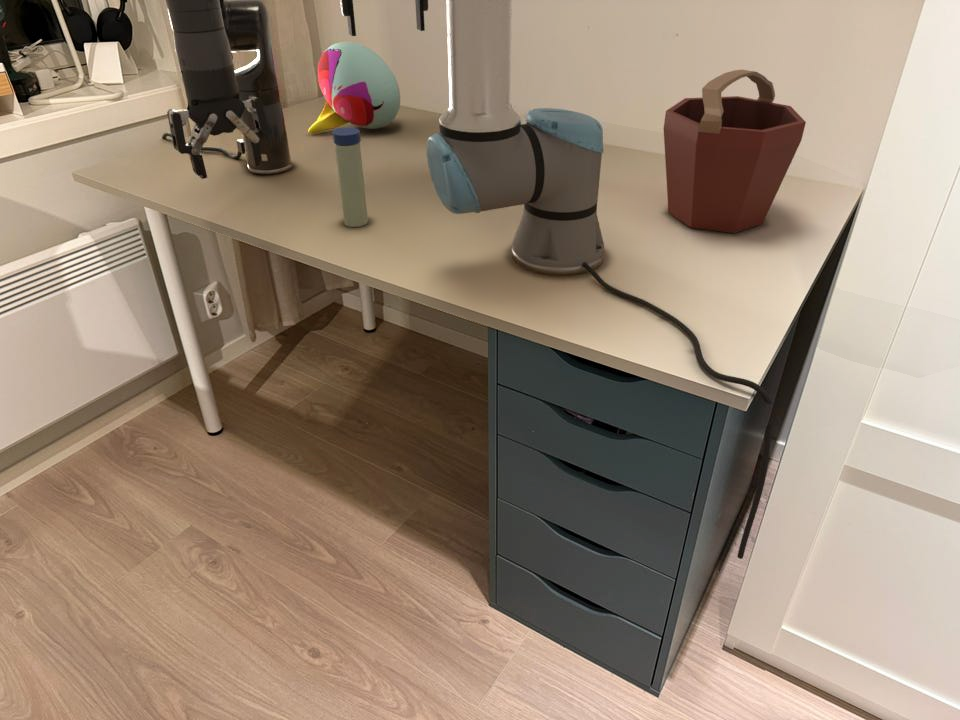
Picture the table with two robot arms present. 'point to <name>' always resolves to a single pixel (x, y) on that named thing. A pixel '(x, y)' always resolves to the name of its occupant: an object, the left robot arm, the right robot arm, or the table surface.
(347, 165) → the bottle
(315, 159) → the table surface
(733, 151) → the bucket
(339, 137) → the lid
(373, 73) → the toy
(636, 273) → the table surface
